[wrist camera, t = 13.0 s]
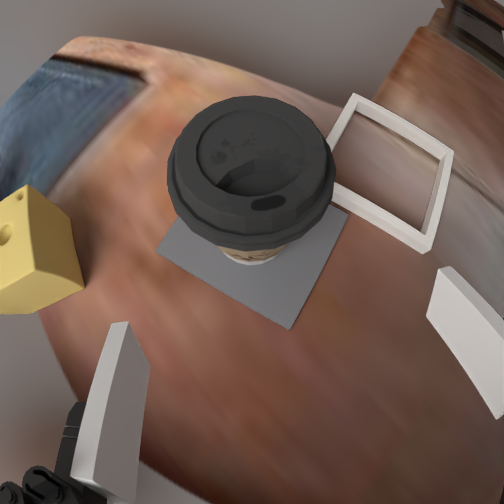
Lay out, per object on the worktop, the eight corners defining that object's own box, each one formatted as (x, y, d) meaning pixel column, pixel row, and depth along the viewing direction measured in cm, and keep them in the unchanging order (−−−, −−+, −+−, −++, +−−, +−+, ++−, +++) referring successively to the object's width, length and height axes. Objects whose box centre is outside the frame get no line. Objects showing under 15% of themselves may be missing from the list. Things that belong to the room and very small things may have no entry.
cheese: (17, 246, 32) (-31, 221, 23) (75, 213, 33) (30, 176, 24) (28, 320, 30) (-27, 309, 20) (91, 291, 31) (38, 271, 21)
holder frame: (447, 158, 36) (454, 151, 34) (422, 254, 32) (430, 249, 30) (350, 101, 38) (353, 92, 36) (302, 185, 34) (304, 176, 32)
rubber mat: (347, 216, 33) (349, 214, 32) (288, 329, 30) (289, 329, 29) (225, 154, 35) (224, 151, 35) (156, 252, 32) (155, 251, 31)
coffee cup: (210, 298, 30) (171, 261, 16) (188, 197, 33) (150, 105, 19) (320, 270, 31) (373, 211, 16) (288, 174, 34) (306, 75, 19)
